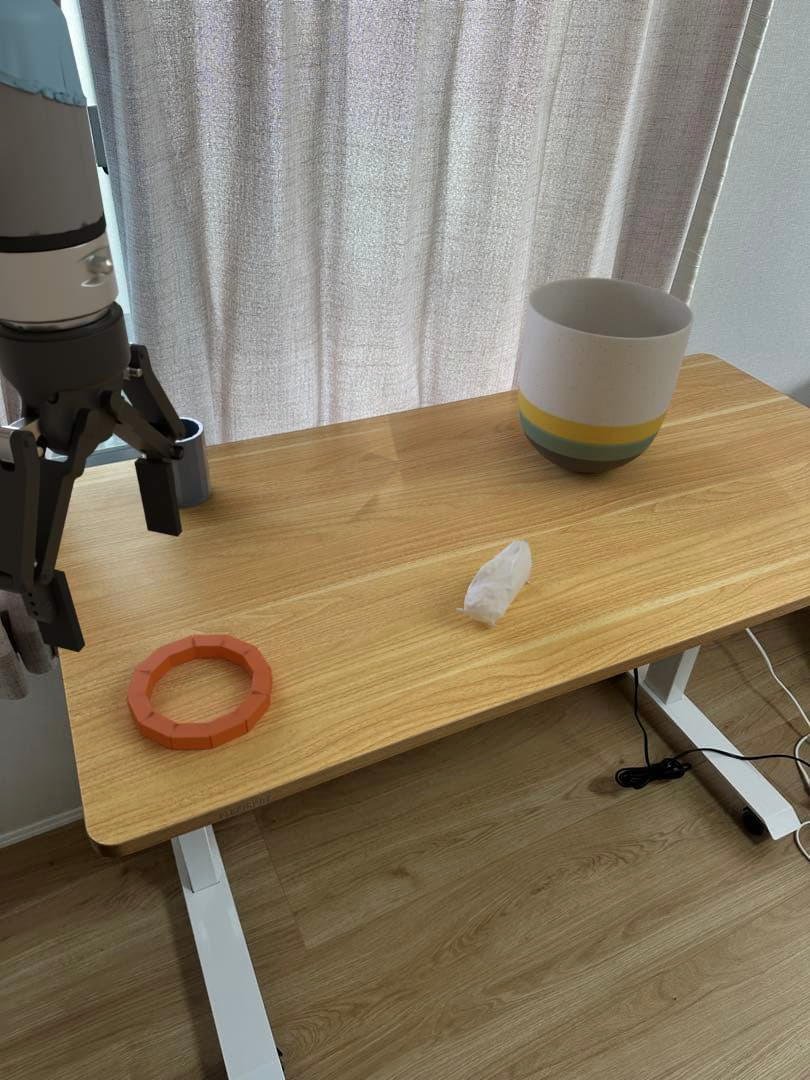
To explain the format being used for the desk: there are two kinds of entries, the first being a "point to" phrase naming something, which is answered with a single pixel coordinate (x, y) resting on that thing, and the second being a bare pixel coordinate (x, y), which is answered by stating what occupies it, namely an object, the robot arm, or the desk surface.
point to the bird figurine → (498, 583)
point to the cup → (192, 466)
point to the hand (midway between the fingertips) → (119, 583)
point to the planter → (599, 369)
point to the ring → (199, 733)
